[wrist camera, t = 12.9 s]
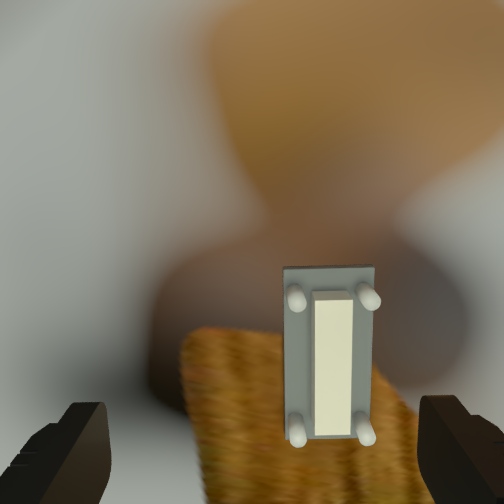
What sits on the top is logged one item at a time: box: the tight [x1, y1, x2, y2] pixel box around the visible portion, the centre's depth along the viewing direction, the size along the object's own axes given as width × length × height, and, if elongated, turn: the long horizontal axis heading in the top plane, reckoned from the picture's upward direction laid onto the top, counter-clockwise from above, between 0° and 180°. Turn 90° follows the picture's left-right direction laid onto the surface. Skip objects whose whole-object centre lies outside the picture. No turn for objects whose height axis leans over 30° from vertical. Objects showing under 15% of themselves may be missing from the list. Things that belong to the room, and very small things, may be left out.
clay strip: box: [311, 290, 353, 436], centre depth 39 cm, size 12×3×2 cm, turn 2°
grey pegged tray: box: [283, 265, 381, 447], centre depth 40 cm, size 16×8×4 cm, turn 1°
